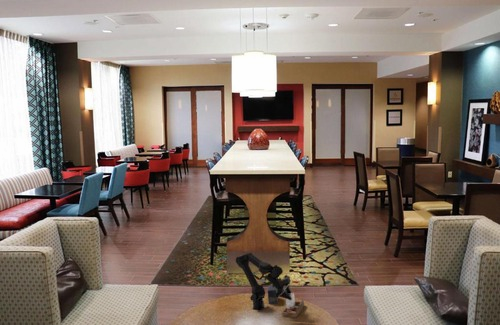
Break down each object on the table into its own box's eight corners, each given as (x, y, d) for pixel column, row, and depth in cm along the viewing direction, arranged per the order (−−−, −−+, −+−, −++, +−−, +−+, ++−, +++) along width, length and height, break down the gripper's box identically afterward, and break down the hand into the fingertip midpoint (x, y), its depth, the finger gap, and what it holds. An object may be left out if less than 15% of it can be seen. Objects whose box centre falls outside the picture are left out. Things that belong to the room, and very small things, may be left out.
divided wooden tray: (282, 317, 287) (281, 309, 287) (290, 305, 305) (289, 298, 305) (296, 318, 284) (296, 310, 283) (304, 306, 302) (303, 298, 301)
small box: (269, 299, 321) (267, 284, 320) (278, 298, 320) (276, 284, 319) (268, 304, 310) (267, 290, 310) (277, 304, 310) (276, 289, 309)
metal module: (286, 308, 289) (285, 295, 288) (288, 305, 293) (287, 292, 292) (293, 309, 287) (292, 295, 286) (295, 306, 291) (294, 292, 290)
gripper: (278, 277, 281) (296, 295, 278) (286, 268, 298) (303, 284, 295) (267, 289, 284) (285, 307, 281) (276, 279, 302) (293, 295, 299)
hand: (292, 298), depth 289 cm, fingers closed on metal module, 4 cm apart
